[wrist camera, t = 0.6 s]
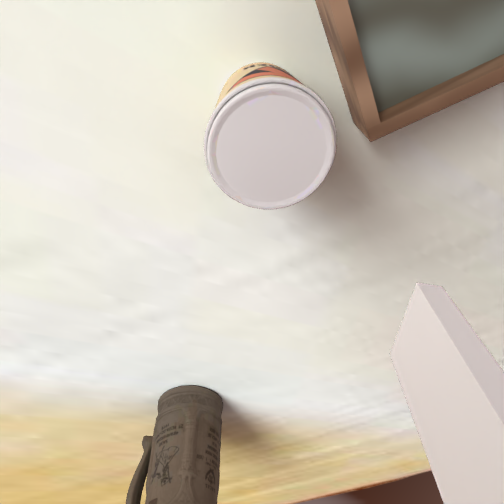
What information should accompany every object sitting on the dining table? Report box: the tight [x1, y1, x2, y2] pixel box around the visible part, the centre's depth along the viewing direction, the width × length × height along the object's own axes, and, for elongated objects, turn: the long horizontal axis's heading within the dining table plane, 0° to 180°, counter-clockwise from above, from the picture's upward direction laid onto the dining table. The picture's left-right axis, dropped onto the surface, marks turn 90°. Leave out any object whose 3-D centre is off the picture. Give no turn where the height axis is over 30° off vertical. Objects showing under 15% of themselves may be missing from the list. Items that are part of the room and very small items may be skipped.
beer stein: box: [126, 386, 223, 504], centre depth 56 cm, size 15×11×20 cm
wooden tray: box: [315, 0, 504, 142], centre depth 29 cm, size 15×15×6 cm
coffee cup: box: [204, 62, 337, 209], centre depth 31 cm, size 9×9×12 cm
